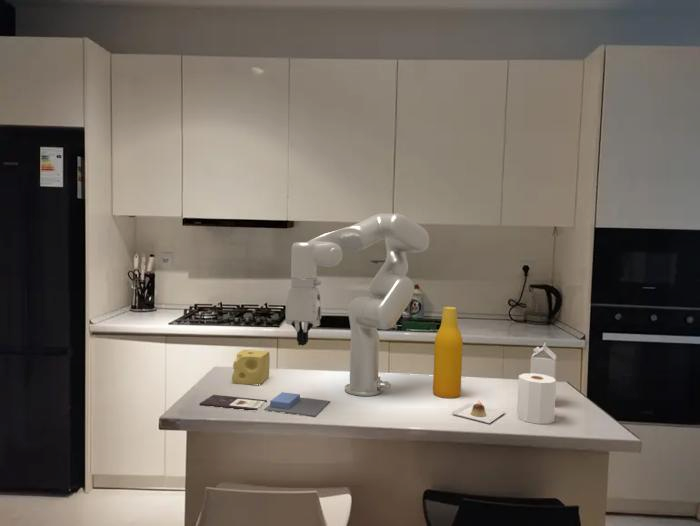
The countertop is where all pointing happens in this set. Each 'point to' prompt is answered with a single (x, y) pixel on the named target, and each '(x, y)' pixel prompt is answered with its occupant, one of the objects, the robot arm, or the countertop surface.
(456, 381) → the beer bottle
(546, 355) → the milk carton
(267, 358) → the cheese
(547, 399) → the toilet paper
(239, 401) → the chocolate bar
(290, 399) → the card box
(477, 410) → the dessert
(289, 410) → the mat
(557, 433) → the countertop surface
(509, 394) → the countertop surface
